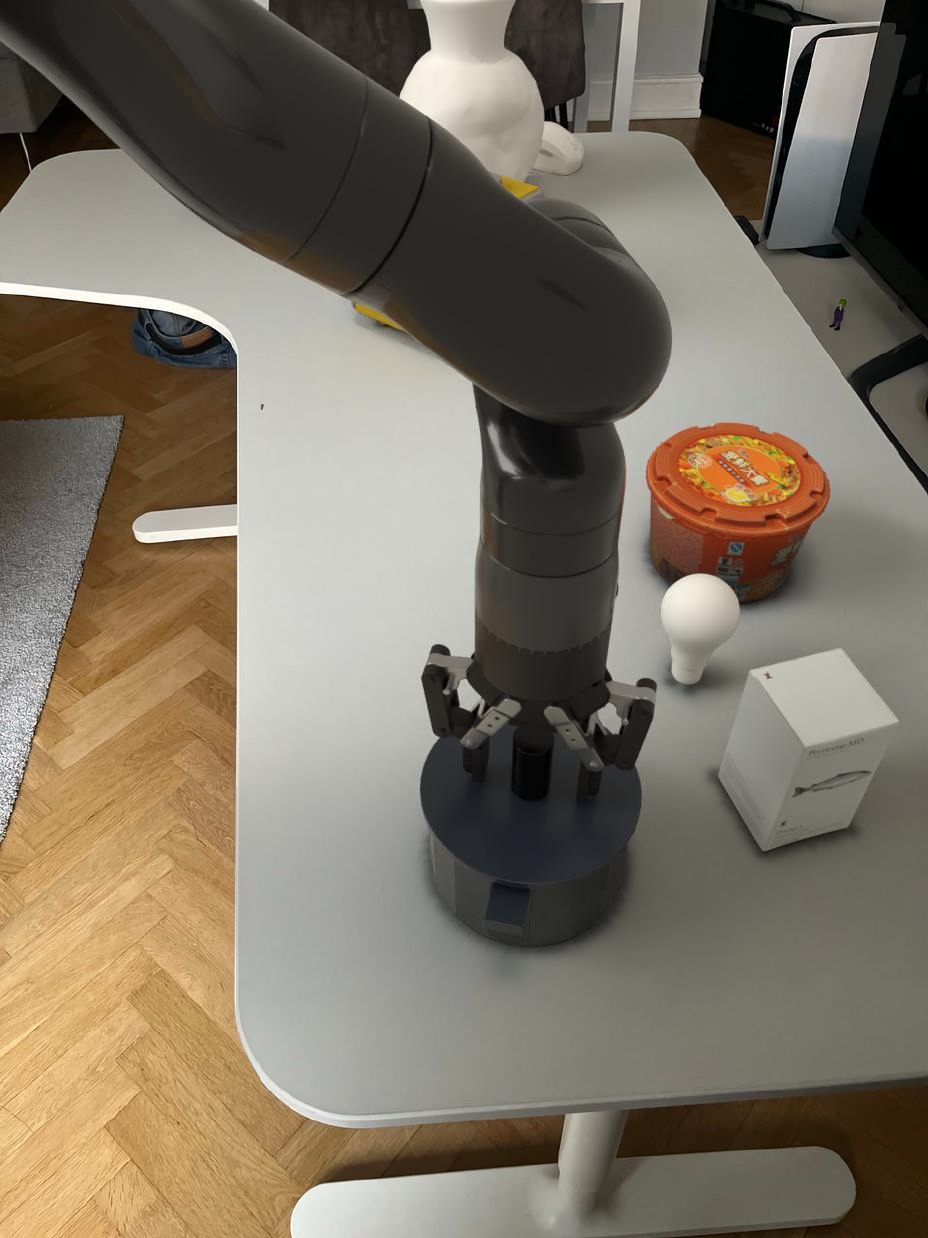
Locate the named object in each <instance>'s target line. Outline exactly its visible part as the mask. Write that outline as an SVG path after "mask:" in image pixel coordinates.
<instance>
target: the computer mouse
mask: <svg viewBox="0 0 928 1238" xmlns="http://www.w3.org/2000/svg"><path fill="white" fill-rule="evenodd" d="M584 149H585V148H584V146H583V144H582V143H581V142H580V140H578V139H577V138H576V136H575V135H573V134H572V132H570V131H569V130H567V129H566V128H564V127H563V126H562V125H560V124H558V123H556V122H553V121H544V131H543V136H542V144H541V148H540V151H539V153H538V155H537V158H536V162H535V164H534V166H533V168H532V169H531V170H535V171H542V172H546V173H550V174H555V175H561V176H568V175H572V174H574V173H575V172H578V170H579V169H580V168H581V167H582V164H583V161H584V156H585V150H584Z"/></svg>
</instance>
